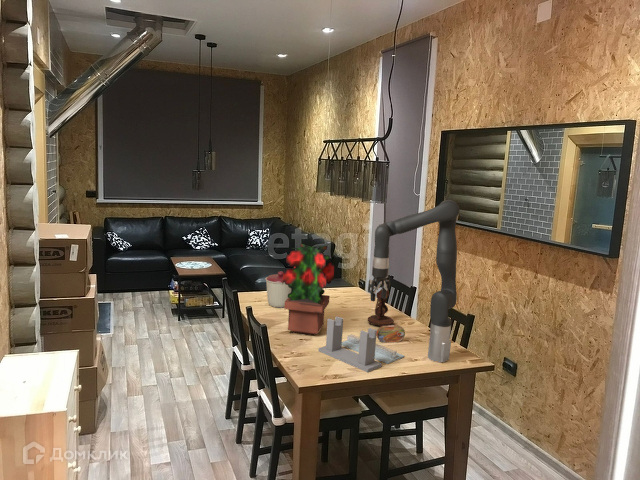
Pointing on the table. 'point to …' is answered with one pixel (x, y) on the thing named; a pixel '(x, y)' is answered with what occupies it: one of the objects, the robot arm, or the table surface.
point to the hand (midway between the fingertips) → (378, 299)
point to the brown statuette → (381, 312)
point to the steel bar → (378, 348)
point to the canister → (277, 290)
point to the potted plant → (307, 288)
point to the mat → (377, 356)
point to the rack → (357, 360)
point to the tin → (390, 334)
